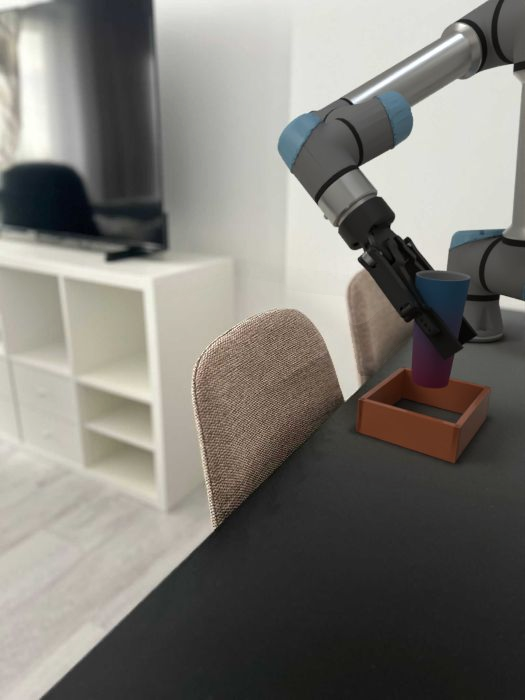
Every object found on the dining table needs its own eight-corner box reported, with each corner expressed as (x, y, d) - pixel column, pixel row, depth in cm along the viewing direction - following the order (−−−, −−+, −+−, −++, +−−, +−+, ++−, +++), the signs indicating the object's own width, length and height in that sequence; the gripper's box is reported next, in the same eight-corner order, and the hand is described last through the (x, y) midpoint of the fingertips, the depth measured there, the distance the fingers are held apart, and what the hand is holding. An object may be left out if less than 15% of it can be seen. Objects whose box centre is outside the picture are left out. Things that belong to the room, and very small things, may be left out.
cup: (459, 378, 73) (475, 273, 68) (449, 395, 67) (465, 282, 62) (411, 368, 76) (423, 268, 71) (398, 384, 70) (409, 276, 65)
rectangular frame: (398, 395, 83) (402, 366, 82) (486, 418, 76) (491, 387, 74) (355, 431, 72) (358, 399, 70) (454, 463, 64) (460, 427, 62)
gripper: (368, 225, 81) (459, 343, 77) (304, 237, 66) (414, 383, 63) (403, 191, 76) (503, 315, 72) (343, 196, 62) (464, 351, 58)
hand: (461, 346), depth 68 cm, fingers closed on cup, 6 cm apart
